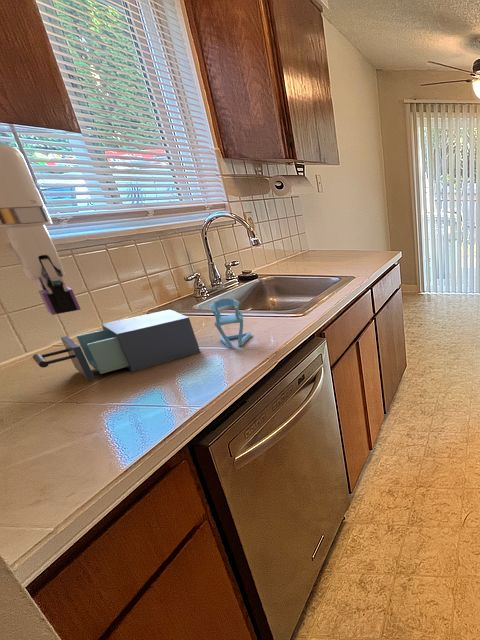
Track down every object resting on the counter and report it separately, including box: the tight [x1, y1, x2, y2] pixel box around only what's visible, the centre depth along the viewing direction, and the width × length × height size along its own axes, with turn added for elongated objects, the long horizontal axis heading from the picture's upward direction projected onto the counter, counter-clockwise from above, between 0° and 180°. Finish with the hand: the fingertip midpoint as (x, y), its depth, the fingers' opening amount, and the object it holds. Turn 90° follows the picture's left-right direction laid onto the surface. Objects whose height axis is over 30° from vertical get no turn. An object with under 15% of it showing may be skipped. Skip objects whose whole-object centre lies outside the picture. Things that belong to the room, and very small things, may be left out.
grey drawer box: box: [101, 308, 201, 372], centre depth 101 cm, size 15×13×10 cm
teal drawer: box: [32, 329, 129, 381], centre depth 93 cm, size 19×11×8 cm, turn 144°
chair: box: [209, 298, 252, 349], centre depth 109 cm, size 8×8×12 cm
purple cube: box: [38, 285, 81, 316], centre depth 83 cm, size 4×4×4 cm
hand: (63, 308), depth 83 cm, fingers closed on purple cube, 4 cm apart
